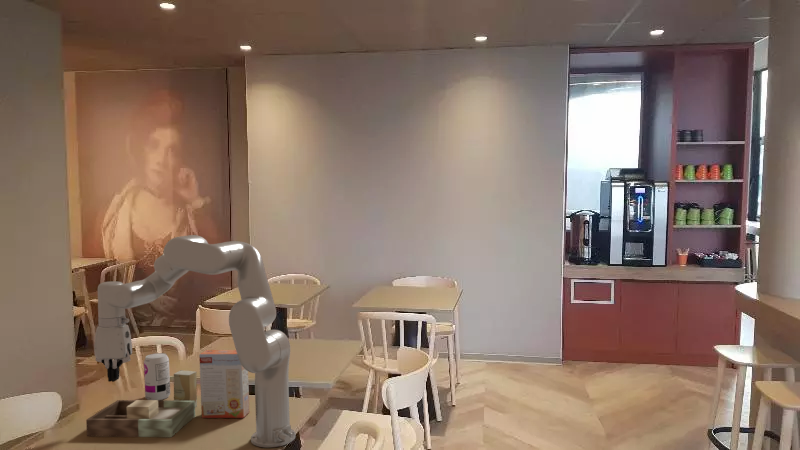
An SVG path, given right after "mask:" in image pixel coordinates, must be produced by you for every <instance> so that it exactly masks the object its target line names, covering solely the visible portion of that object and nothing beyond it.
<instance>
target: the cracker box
mask: <svg viewBox="0 0 800 450" xmlns="http://www.w3.org/2000/svg"><path fill="white" fill-rule="evenodd" d="M199 379H200V380H199V382H200V384H199V385H200V403H201V405H200V406H201V408H200V409H201V418H202V419H243V418H245V417H246V416H248V414H249V413H250V394H249V393H250V392H249V371H247V370H246V369H245V368H244V367H243V366H242V365H241V363H240V361H239V358H238V355H237V352H236V349H206V350H204V351H202V352H201V353H199Z"/></svg>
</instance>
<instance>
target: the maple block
mask: <svg viewBox="0 0 800 450" xmlns="http://www.w3.org/2000/svg"><path fill="white" fill-rule="evenodd" d="M158 413H159V410H158V400H148V399H136V401H135V402H133V403H132V404H130V405H128V406H127V419H151V418H152V417H154V416H155V415H156V414H158Z"/></svg>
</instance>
